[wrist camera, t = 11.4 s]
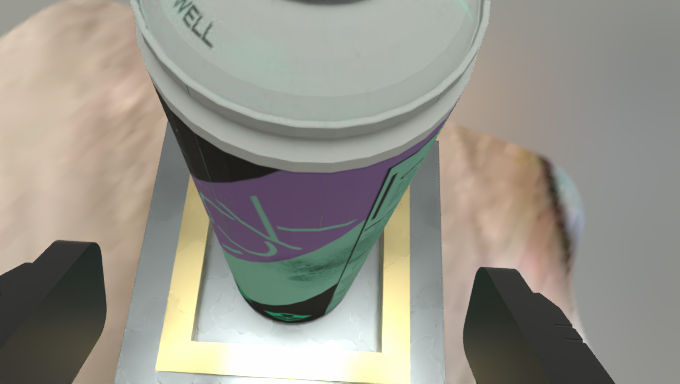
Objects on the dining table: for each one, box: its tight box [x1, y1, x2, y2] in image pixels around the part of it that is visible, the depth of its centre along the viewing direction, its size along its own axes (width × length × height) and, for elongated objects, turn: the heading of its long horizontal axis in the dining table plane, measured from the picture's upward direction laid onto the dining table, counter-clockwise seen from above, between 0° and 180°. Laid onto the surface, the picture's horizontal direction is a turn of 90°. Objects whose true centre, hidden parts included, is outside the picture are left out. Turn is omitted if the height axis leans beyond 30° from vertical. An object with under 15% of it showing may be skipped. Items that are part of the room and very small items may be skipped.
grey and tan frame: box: [114, 121, 445, 384], centre depth 22 cm, size 14×14×9 cm
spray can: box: [130, 0, 491, 325], centre depth 14 cm, size 6×6×20 cm
